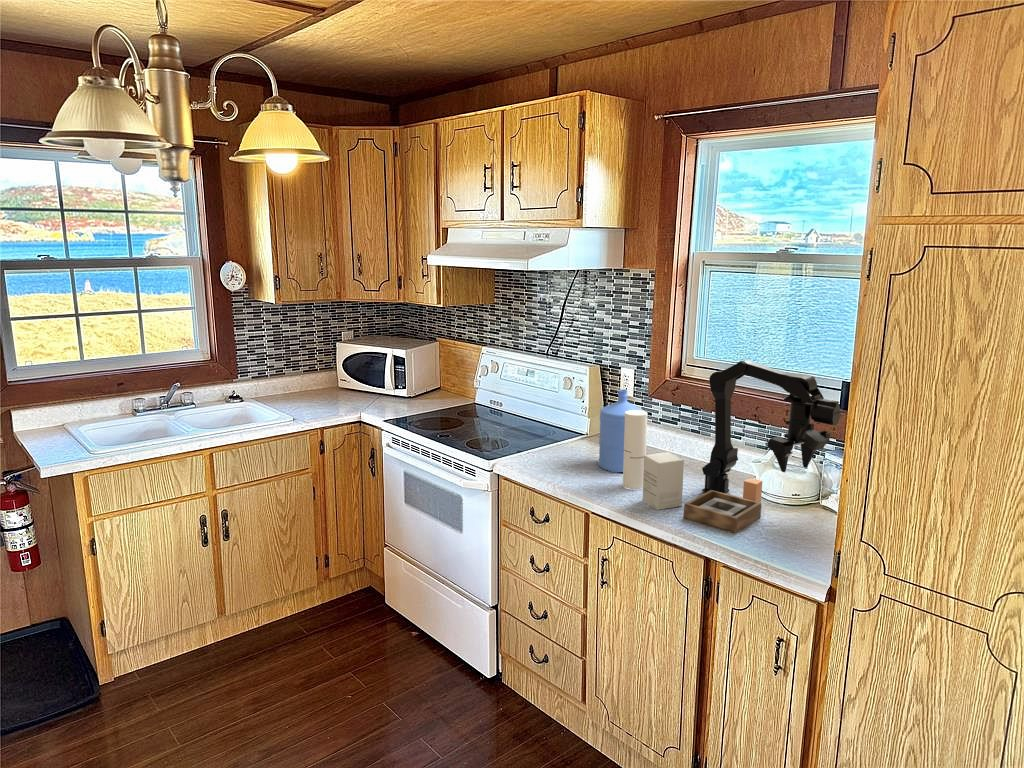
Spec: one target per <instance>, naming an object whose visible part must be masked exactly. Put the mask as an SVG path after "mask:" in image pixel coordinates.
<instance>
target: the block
mask: <svg viewBox="0 0 1024 768" xmlns="http://www.w3.org/2000/svg"><path fill="white" fill-rule="evenodd" d="M762 491H763V480H760V479H757V478H751V477H749V478H747V479H745V480H743V491H742V498H745V499H748V500H752V501H756V502H760V503H761V504H762V495H763V494H762Z"/></svg>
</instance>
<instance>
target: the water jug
mask: <svg viewBox="0 0 1024 768" xmlns="http://www.w3.org/2000/svg"><path fill="white" fill-rule="evenodd" d="M617 396H618V397H617V399H618V400H617V401H616V402H613V403H611V404H608V405H606V406H603V407H602V408H601V409H600V414H599V439H598V441H599V453H598V454H599V456H598V466H599V467H600V468H601V469H602V468H603V469H602V470H604V469H605V470H604V471H607V470H608V471H607V472H610V471H613V472H612V473H616V472H623V462H624V430H625V412H626V411H629V410H641V411H644V409H643V408H641V407H639V406H637V405H635V404H633V403H631V402H629V401H628V390H627V389H618V394H617Z"/></svg>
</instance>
